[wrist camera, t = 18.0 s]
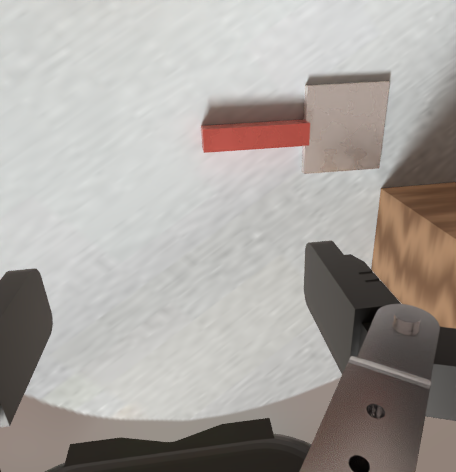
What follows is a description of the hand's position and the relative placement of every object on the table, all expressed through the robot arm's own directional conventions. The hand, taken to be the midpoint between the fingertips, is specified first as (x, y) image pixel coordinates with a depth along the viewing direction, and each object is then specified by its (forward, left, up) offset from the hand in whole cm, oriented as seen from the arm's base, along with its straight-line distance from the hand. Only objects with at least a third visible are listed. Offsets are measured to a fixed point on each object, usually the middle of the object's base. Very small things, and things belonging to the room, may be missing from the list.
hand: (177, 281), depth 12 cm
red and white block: (+3, +13, -36) cm, 39 cm away
